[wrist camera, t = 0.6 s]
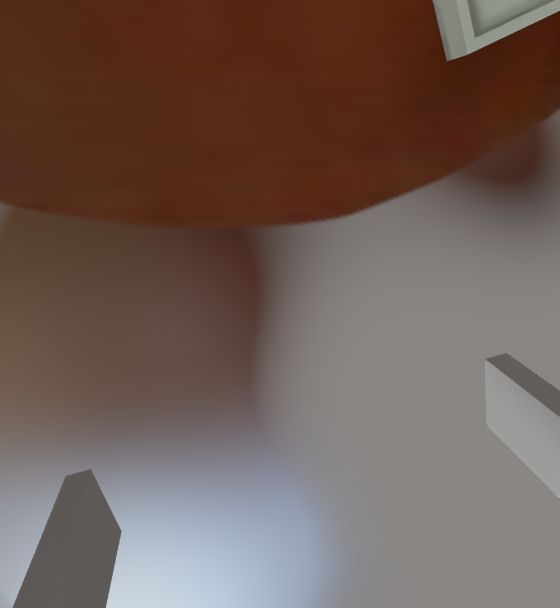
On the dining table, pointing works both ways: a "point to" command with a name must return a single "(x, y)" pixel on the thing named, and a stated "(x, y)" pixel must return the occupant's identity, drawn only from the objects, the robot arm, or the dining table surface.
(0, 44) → the dining table surface
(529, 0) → the tray
